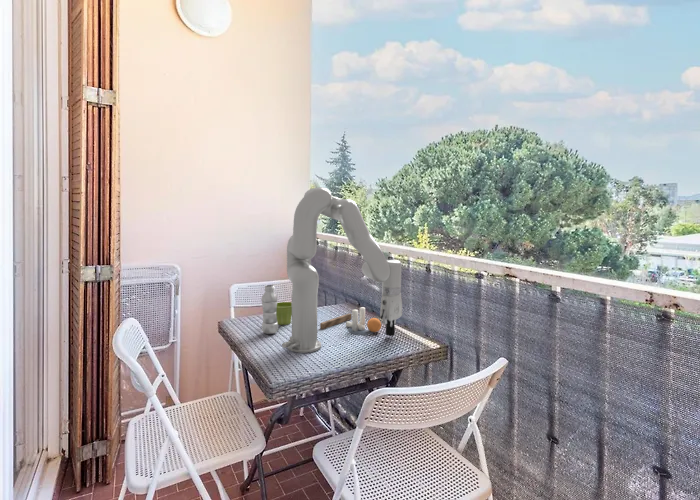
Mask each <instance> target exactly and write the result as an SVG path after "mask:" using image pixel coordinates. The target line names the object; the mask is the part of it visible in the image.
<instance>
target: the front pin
mask: <svg viewBox="0 0 700 500" xmlns="http://www.w3.org/2000/svg"><path fill="white" fill-rule="evenodd" d="M365 326H366V325H365ZM365 326H364V325H361V324H359V323H358V330H362V331H363V330H365ZM345 327H347V328H350V327H351V328H352V321H350V320H348V321H345Z"/></svg>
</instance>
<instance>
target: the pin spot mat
mask: <svg viewBox="0 0 700 500" xmlns="http://www.w3.org/2000/svg"><path fill="white" fill-rule="evenodd" d="M347 331H348V332H349V333H351V334H353V335H357V336H368V334H370V335H373V333H374V334H375V333H376V332H371V331H370V330H369V329H368V330H363V331H362V330H358V331H352V328H351V327H348V329H347Z"/></svg>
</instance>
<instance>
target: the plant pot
mask: <svg viewBox="0 0 700 500" xmlns="http://www.w3.org/2000/svg"><path fill="white" fill-rule="evenodd" d="M276 315H277V323H278V326H282V325H285V326H288V325H289V324H292V301H290V302H289V301H281V302H280V301H279V302H277V310H276Z"/></svg>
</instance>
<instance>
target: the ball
mask: <svg viewBox="0 0 700 500" xmlns="http://www.w3.org/2000/svg"><path fill="white" fill-rule="evenodd" d="M366 326H367V327H368V329H369V330H370V331H371V332H375V333H378V332H379V331H380V330H381V329H382V321H381V320H380V319H379V318H378V317H377V318H376V317H372V318H370V319H369V320H368V321H367V324H366Z"/></svg>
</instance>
